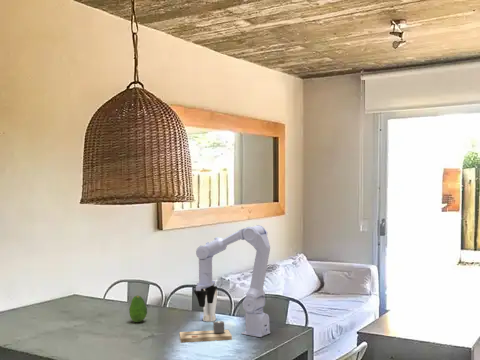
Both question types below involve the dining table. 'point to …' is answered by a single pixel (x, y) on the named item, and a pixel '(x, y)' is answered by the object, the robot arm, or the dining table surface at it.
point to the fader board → (204, 336)
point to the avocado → (138, 309)
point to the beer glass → (210, 309)
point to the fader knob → (218, 327)
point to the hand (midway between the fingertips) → (206, 304)
